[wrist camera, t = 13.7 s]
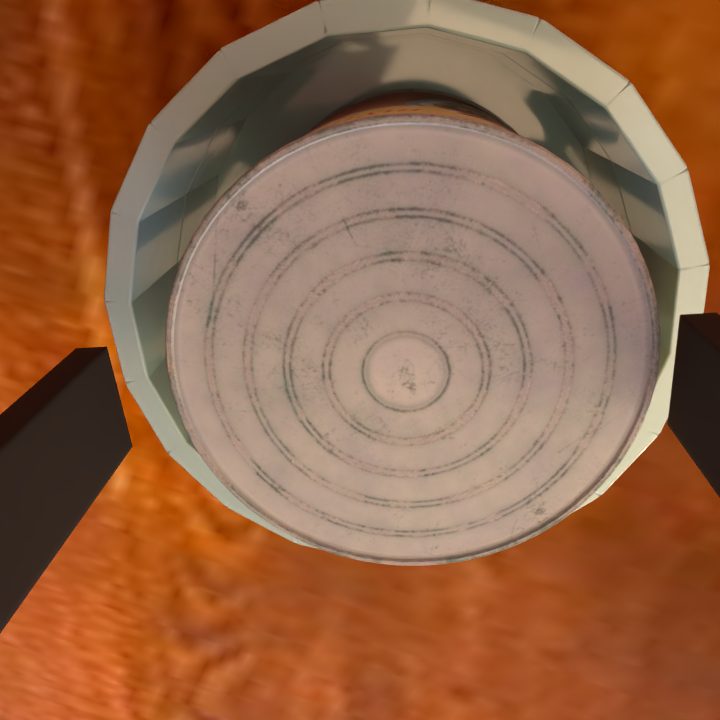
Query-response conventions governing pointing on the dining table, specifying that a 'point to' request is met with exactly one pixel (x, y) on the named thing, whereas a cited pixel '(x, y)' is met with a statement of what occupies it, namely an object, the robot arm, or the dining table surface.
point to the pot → (354, 81)
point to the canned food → (412, 334)
